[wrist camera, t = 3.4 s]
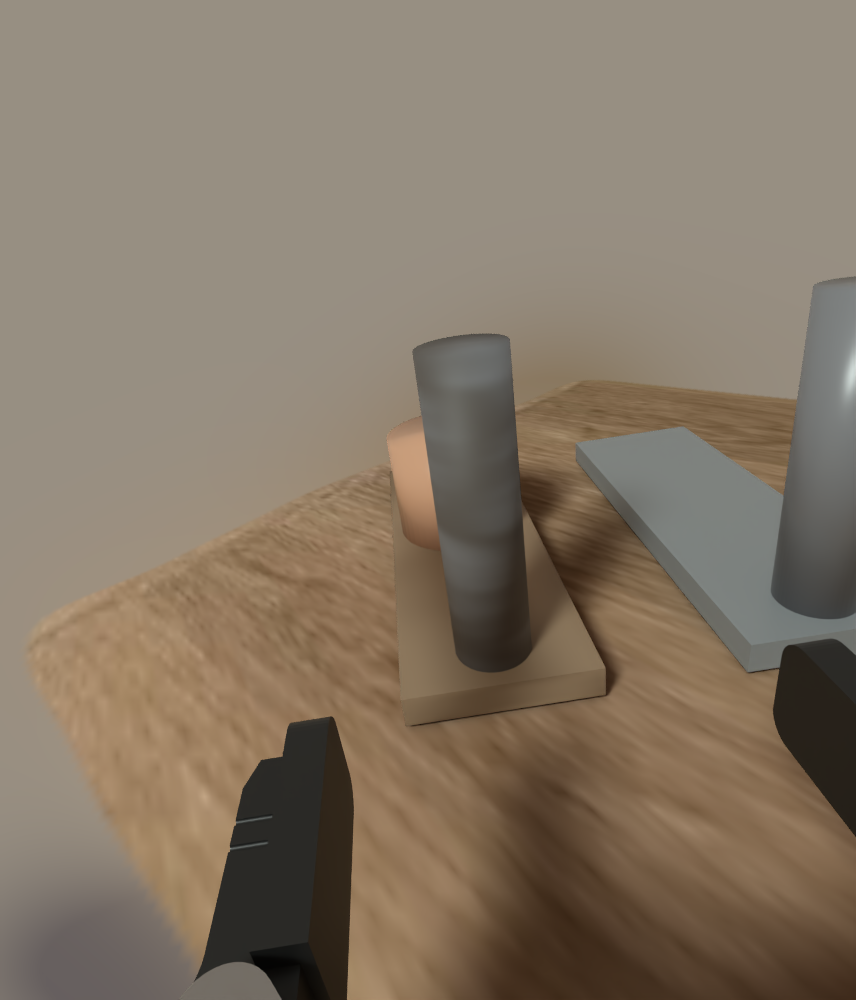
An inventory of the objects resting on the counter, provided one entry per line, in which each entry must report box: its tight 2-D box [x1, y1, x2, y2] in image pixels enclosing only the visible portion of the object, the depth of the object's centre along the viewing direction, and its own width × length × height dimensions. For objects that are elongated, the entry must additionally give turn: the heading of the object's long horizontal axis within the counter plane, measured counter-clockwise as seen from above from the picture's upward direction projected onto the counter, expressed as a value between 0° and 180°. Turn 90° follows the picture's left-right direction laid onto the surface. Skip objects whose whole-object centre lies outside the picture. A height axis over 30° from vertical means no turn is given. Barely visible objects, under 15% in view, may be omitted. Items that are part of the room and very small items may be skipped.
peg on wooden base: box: [390, 334, 606, 726], centre depth 27 cm, size 7×20×12 cm, turn 5°
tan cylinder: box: [387, 416, 441, 551], centre depth 30 cm, size 6×6×5 cm
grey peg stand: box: [576, 277, 856, 672], centre depth 27 cm, size 7×20×12 cm, turn 5°
